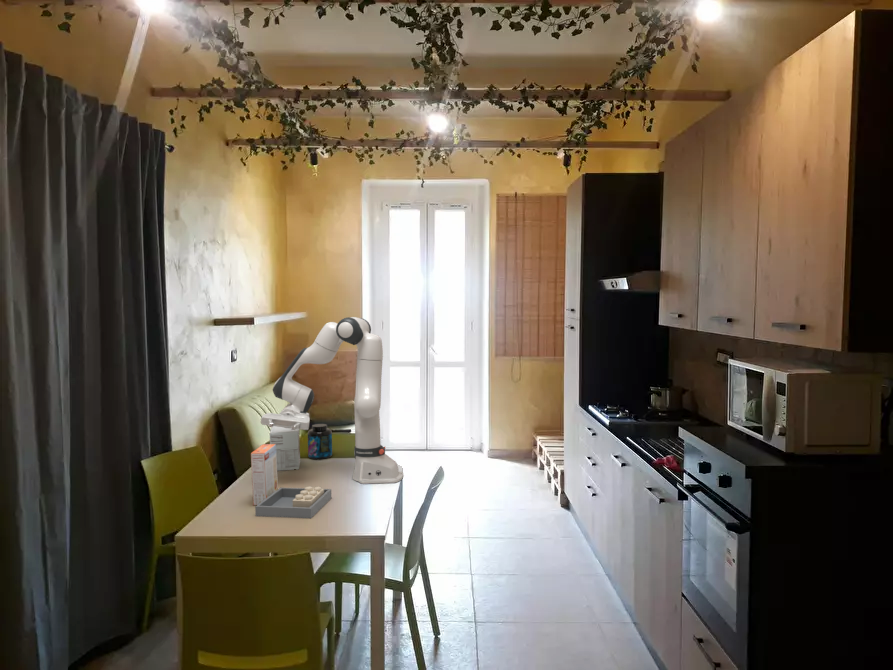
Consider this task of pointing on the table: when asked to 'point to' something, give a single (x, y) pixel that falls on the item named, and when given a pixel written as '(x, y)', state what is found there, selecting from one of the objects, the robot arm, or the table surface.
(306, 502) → the egg carton
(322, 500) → the tote
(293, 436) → the supplement box
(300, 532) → the table surface
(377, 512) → the table surface
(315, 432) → the container
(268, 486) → the cracker box
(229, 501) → the table surface
